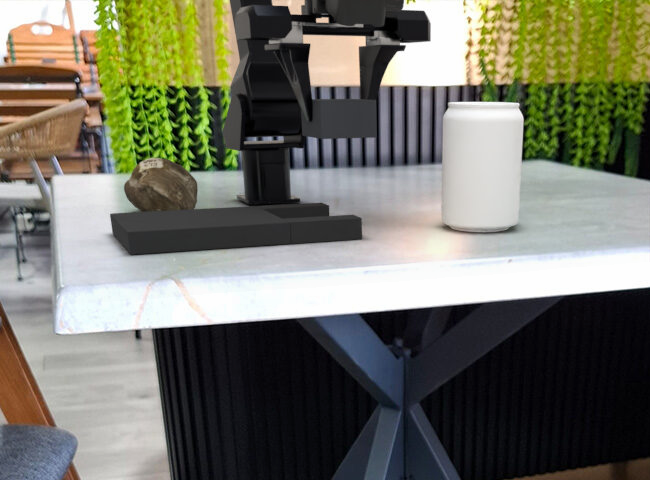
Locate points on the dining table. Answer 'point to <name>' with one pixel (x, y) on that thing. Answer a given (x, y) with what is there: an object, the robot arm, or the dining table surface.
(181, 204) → the fossilized seashell
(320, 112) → the pad
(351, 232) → the u-shaped holder
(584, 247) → the dining table surface
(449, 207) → the beverage can
